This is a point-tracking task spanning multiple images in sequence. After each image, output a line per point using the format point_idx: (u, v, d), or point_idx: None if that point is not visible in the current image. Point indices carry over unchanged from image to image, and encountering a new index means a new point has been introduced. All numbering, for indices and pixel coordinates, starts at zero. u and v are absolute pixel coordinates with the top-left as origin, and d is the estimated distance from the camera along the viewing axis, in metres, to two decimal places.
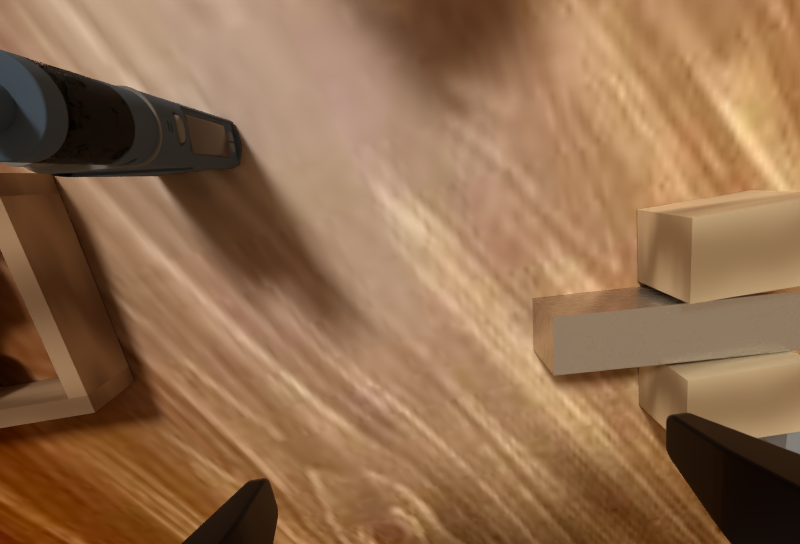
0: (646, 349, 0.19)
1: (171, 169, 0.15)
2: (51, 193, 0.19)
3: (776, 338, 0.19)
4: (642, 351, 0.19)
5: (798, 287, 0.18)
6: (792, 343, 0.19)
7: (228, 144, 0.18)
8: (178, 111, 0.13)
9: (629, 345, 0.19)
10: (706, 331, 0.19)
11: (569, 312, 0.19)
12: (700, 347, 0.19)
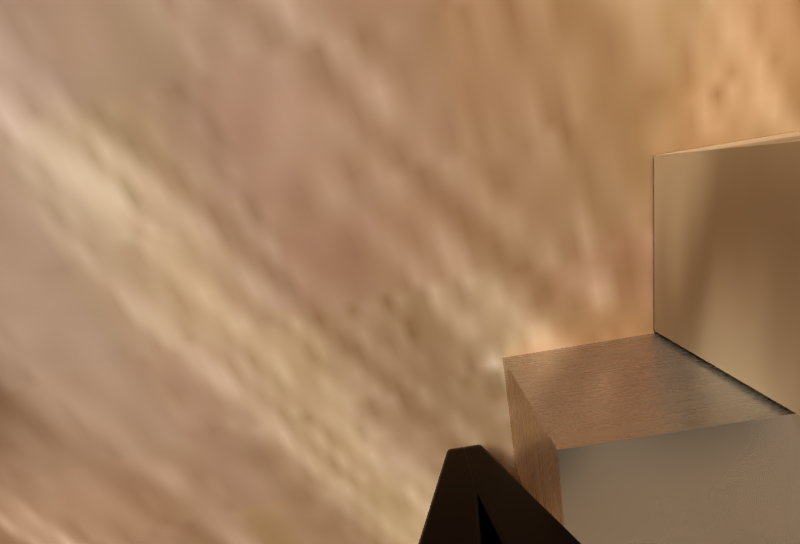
0: None
1: None
2: None
3: None
4: None
5: None
6: None
7: None
8: None
9: (791, 514, 0.06)
10: None
11: (604, 424, 0.06)
12: None
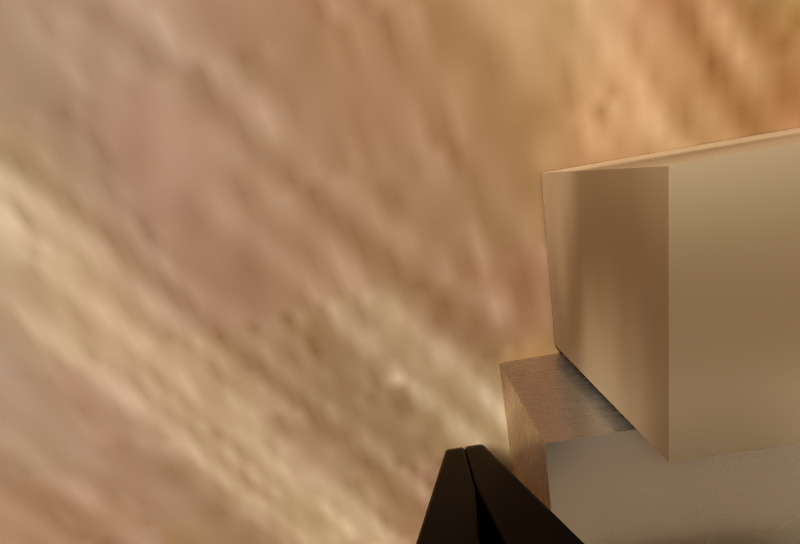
0: None
1: None
2: None
3: None
4: None
5: None
6: None
7: None
8: None
9: (767, 505, 0.07)
10: None
11: (589, 419, 0.07)
12: None
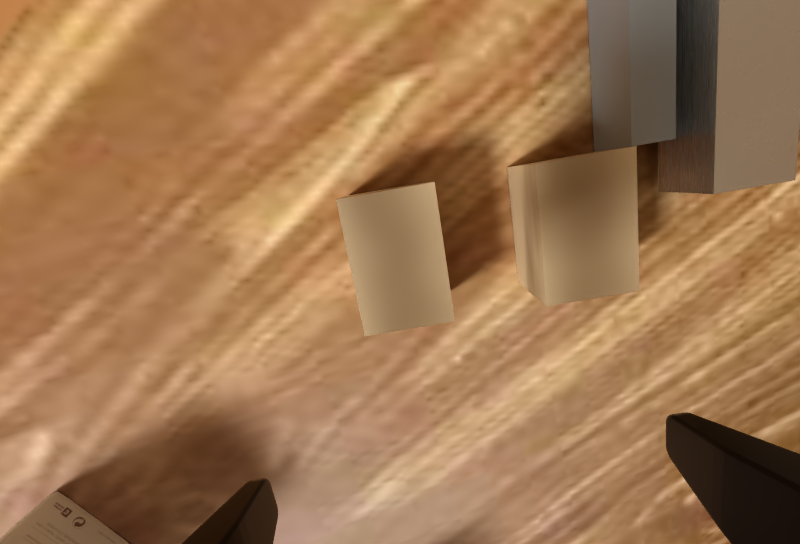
0: (779, 55, 0.14)
1: None
2: None
3: None
4: (781, 60, 0.14)
5: None
6: None
7: None
8: None
9: (769, 83, 0.14)
10: None
11: (705, 169, 0.15)
12: None
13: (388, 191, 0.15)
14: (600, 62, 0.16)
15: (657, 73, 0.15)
